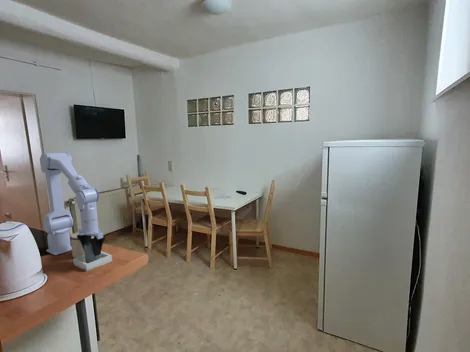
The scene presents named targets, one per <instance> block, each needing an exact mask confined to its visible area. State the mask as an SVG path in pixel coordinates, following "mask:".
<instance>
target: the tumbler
mask: <svg viewBox="0 0 470 352" xmlns="http://www.w3.org/2000/svg"><path fill="white" fill-rule="evenodd" d="M84 251H85V261H86V263H87V264H88V263H90V262H93V261H96V260H98V259H100V255H97V256H94V253H93V248H92V245H91V243H87V244H85V245H84Z"/></svg>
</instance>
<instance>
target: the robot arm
mask: <svg viewBox="0 0 470 352" xmlns="http://www.w3.org/2000/svg"><path fill="white" fill-rule="evenodd" d="M39 164H40V169H41V172H42V173H44V174H45V177H46V185H47V192H48V201H49V208H50V210H49V211H48V212H47V213H46V214H45V215H43V230H44V231H45V232H46V233H47V238H46V239H47V245H48V248H47V249H46V250H45V251H46V252H47V253H49V254H51V255H54V256H58V255H62V254H64V253H67V252H71V251H72V245H71V239H70V236H71V234H70V231H71V230H72V229H71V228H72V227H73V225H74V219H73V217H72V213H71V211H69V210H67V209H65V205H64V197H63V196H64V195H63V190H62V189H63V188H62V182H61V173H62V174H63V175H64V176H65V177H66V178H67V179H68V182H67V184H68V186H69V188H70V189H71V190H72V191H73V193H74V194H75V197H74V198H75V199H74V200H75V202H76V204H77V208H78V210H79V214H80V215H79V216H80V227H78V231H79V235H77V238H78V239H79V240H80V242H81V244H82V247H83V249H84V245H85V244H87V243H91V245H92V248H93V253H94V256H97V255H100V254H101V251H102V250H103V249H102V248H103V245H104V241H105V240H106V236H104V233H103V232H102V231H101V230H100V228H99V221H98V220H99V219H98V207H97V202H98V201H99V200H100V194H99V191H98V189H97V188H96V187H94V186H90V184H89V183H88V182H87V181H86V180H85V178H84V177H83V175H80V174H78V173H77V171H76V169H75V167H74V166H73V158H72V155H71V154H70V153H69V152H68V151H64V152H42V153H41V155H40V158H39ZM92 236H93V237H94V238H92ZM91 238H92V239H91ZM84 252H85V251H84Z"/></svg>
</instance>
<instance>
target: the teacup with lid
mask: <svg viewBox="0 0 470 352" xmlns="http://www.w3.org/2000/svg"><path fill="white" fill-rule="evenodd" d="M77 235H79V230H77V231H76V232H73V233H71V234H70V244H71V247H72V250H71V251H72V252H71V253H72V257H73V259H74V258H77V257H80V256H83V255H85V252H84V249H83V247H82V244H81V242H80V240H79V239H78V238H77ZM92 238H94V237H93V236H92ZM92 238H91V239H92Z"/></svg>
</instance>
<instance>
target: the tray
mask: <svg viewBox="0 0 470 352" xmlns="http://www.w3.org/2000/svg"><path fill="white" fill-rule="evenodd" d="M72 260H73V266H75V267H77V268H79V269H81V270H83V271H84V272H89V271H91V270H94V269H96V268H99V267H101V266H104V265H106V264H109V263H111V262H113V255H112V254H110V253H107V252H104V251H102V250H101V254H100V259H98V260H96V261H93V262H90V263H88V264H87V263H86V261H85V255H83V256H80V257H77V258H74V257H73V258H72Z"/></svg>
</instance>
